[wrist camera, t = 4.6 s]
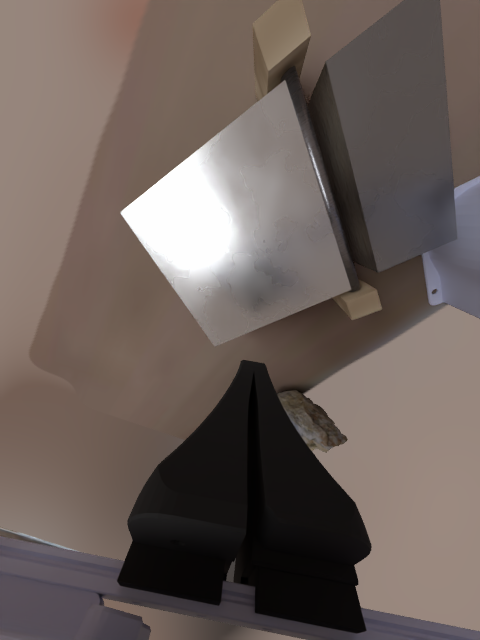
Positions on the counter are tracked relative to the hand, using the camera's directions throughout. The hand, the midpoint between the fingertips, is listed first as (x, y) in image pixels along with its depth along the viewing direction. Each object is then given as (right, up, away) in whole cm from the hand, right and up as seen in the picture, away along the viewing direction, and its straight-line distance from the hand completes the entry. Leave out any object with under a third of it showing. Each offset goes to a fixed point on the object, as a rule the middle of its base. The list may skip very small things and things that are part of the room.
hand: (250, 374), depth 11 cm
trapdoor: (+2, +11, +5) cm, 12 cm away
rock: (+3, -8, +8) cm, 12 cm away
